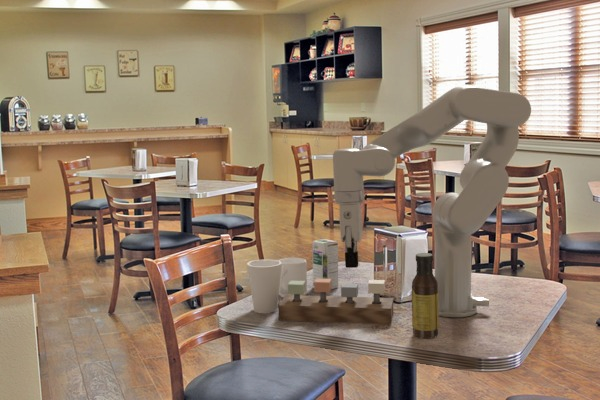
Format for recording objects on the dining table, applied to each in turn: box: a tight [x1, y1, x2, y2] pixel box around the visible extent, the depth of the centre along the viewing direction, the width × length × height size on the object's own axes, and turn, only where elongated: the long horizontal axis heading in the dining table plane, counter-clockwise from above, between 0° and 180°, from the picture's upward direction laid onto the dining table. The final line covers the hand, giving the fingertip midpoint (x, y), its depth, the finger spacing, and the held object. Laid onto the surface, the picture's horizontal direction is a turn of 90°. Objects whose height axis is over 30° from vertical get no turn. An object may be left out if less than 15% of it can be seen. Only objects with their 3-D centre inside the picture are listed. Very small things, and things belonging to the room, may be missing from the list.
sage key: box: [288, 281, 306, 302], centre depth 197 cm, size 4×4×7 cm
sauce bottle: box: [411, 252, 440, 340], centre depth 178 cm, size 6×6×20 cm
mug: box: [278, 257, 308, 299], centre depth 216 cm, size 12×8×10 cm
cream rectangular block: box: [367, 279, 386, 304], centre depth 193 cm, size 4×4×7 cm
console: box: [277, 295, 394, 325], centre depth 196 cm, size 29×10×4 cm, turn 80°
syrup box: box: [311, 238, 339, 290], centre depth 225 cm, size 6×6×14 cm
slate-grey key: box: [340, 282, 359, 303], centre depth 195 cm, size 4×4×7 cm
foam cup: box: [246, 258, 282, 314], centre depth 203 cm, size 10×9×13 cm
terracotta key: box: [313, 278, 333, 303], centre depth 196 cm, size 4×4×7 cm
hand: (351, 266), depth 194 cm, fingers closed
